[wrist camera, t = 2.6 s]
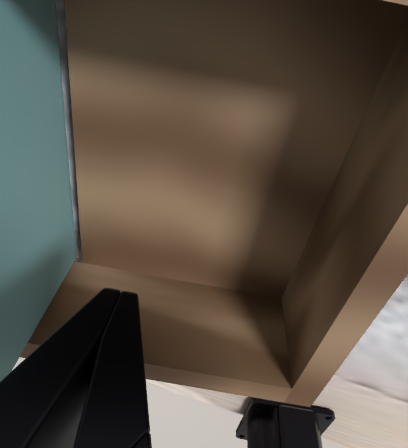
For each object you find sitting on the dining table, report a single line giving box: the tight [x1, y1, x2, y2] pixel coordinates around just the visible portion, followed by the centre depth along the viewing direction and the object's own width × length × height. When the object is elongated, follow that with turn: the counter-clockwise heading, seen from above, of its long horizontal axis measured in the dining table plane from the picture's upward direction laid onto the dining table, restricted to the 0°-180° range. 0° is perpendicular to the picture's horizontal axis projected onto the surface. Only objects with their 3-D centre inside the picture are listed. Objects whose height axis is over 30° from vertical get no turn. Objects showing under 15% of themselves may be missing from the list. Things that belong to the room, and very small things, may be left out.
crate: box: [20, 0, 408, 407], centre depth 13 cm, size 16×13×6 cm
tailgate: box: [0, 0, 76, 381], centre depth 12 cm, size 13×1×7 cm, turn 171°
